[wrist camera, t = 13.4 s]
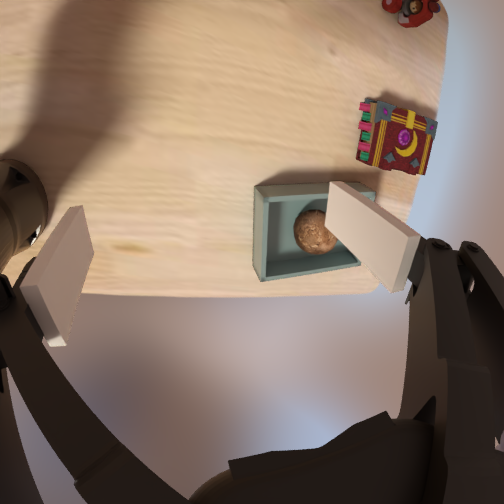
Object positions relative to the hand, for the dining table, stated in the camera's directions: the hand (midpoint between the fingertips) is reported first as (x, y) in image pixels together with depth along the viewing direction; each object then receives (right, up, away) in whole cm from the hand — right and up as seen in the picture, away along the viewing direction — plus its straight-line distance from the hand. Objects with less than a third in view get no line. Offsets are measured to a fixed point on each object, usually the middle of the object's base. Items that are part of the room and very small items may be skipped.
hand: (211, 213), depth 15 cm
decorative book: (+27, +19, +32) cm, 46 cm away
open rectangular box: (+12, +3, +36) cm, 38 cm away
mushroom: (+12, +3, +36) cm, 38 cm away
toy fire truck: (+28, +43, +18) cm, 54 cm away
